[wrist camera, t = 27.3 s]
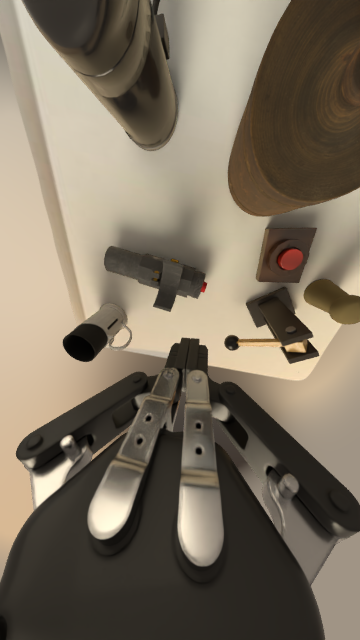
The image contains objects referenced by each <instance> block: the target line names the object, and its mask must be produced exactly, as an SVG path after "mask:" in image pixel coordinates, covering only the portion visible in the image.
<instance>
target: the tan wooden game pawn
mask: <svg viewBox="0 0 360 640" xmlns="http://www.w3.org/2000/svg"><path fill="white" fill-rule="evenodd" d="M304 299H305V301H306V302H307V303H309V304H311V305H313V306H315V307H317V308H319V309H321V310H323V311H325V312H328V313H329V314H330V316H331V318H332V319H333V320H335V321H336V322H338V323H341V324H355V323H358V322H360V297H359V296H355V295H349V294H347V293H346V292H345V291H343V290H342V289H341V288H340V287H338V286H337V285H336V284H334V283H333V282H332V281H330V280H327V279H320V280H317V281H315V282H313V283H311V284H310V285H309V286H308V287H307V288H306V290H305V292H304Z"/></svg>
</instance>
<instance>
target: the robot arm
mask: <svg viewBox="0 0 360 640" xmlns="http://www.w3.org/2000/svg"><path fill="white" fill-rule="evenodd" d="M22 2H23V4H24V6H25V8H26V10H27V11H28V13H29V15H30V17H31V18H32V20H33V22H34V23H35V25H36V26H37V28H38V29H39V31H40V32H41V34H42V35H43V36H44V37H45V39H46V40H47V41H48V42H49V44H50V45H51V46H52V47H53V48H54V49H55V51H56V52H57V53H58V54H59V55H60V56H61V57H62V58H63V60H64V61H65V62H66V63H67V64H68V65H69V67H70V68H71V69H72V70H73V71H74V72H75V73H76V75H77V76H78V77H79V78H80V79H81V80H82V82H83V83H84V84H85V85H86V86H87V87H88V88H89V89H90V91H91V92H92V93H93V94H94V95H95V96H96V97H97V99H98V100H99V101H100V102H101V103H102V104H103V105H104V107H105V108H106V109H107V110H108V111H109V112H110V114H111V115H112V116H113V117H114V118H115V119H116V120H117V122H118V123H119V124H120V125H121V126H122V127H123V129H124V130H125V132H126V133H127V134H129V135H128V136H129V137H131V138H130V139H131V140H132V141H134V142H135V143H136V144H137V145H138V146H139V147H141V148H142V149H145V150H149V151H154V150H158V149H160V148H162V147H163V146H164V145H165V144H166V143H167V142H168V141H169V140H170V138H171V136H172V135H173V132H174V130H175V127H176V123H177V116H178V104H177V98H176V93H175V90H174V87H173V84H172V81H171V77H170V73H169V69H168V65H167V61H166V60H167V59H169V37H168V32H167V28H166V23H165V19H164V14H159V15H157V10H158V6H159V2H160V0H153V5H152V4H151V0H22ZM207 368H208V349H207V347H206V346H205V345H199V339H193V338H191V340H190V338H181V342H180V343H175V344H174V345H173V346H172V347H171V350H170V353H169V356H168V359H167V362H166V365H165V368H164V369H162V370H161V372H160V373H159V374H158V375H156V376H150V377H147V375H146V374H145V373H143V372H135V373H133V374H131V375H129V376H127V377H125V378H124V379H122V380H120V381H119V382H117V383H115V384H114V385H112V386H110V387H108V388H107V389H105V390H103V391H102V392H100V393H98V394H96V395H95V396H93V397H92V398H90V399H88V400H86V401H85V402H83V403H81V404H80V405H78V406H76V407H74V408H73V409H71V410H69V411H68V412H66V413H64V414H62V415H61V416H59V417H57V418H56V419H54V420H52V421H51V422H49V423H47V424H45V425H44V426H42V427H40V428H39V429H37V430H35V431H33V432H32V433H30V434H29V435H28V436H27V437H25V438H24V439H23V441H22V442H21V443H20V445H19V446H18V448H17V451H16V457H17V458H18V459H19V460H20V461H21V462H22V463H23V464H24V467H25V468H26V469H27V470H28V471H29V472H30V481H31V489H32V499H33V508H34V512H33V513H32V514H31V515H30V517H29V518H28V519H27V521H26V522H25V524H24V525H23V527H22V528H21V530H20V532H19V533H18V535H17V537H16V539H15V541H14V543H13V546H12V548H11V551H10V553H9V556H8V559H7V563H6V566H5V570H4V573H3V576H2V579H1V582H0V640H325V635H324V629H323V624H322V620H321V616H320V612H319V608H318V605H317V602H316V599H315V597H314V594H313V591H312V588H311V584H312V583H313V581H314V579H315V578H316V576H317V574H318V573H319V571H320V569H321V568H322V566H323V564H324V563H325V561H326V559H327V558H328V556H329V554H330V553H331V551H332V549H333V548H334V546H335V545H336V544H338V543H340V542H341V541H343V540H345V539H347V538H348V537H350V536H352V535H354V534H356V533H357V532H359V531H360V505H359V503H358V501H357V500H356V498H355V497H354V496H353V495H352V493H351V492H350V491H349V490H347V488H346V487H345V486H344V485H342V484H341V483H340V482H339V481H338V480H337V479H336V478H335V477H334V476H333V475H332V474H331V473H330V472H329V471H328V470H327V469H326V468H325V467H323V466H322V465H321V464H320V463H319V462H318V461H317V460H316V459H315V458H314V457H313V456H312V455H311V454H310V453H309V452H308V451H307V450H305V449H304V448H303V447H302V446H301V445H300V444H299V443H298V442H297V441H296V440H295V439H294V438H293V437H292V436H290V434H289V433H288V432H286V431H285V430H284V429H283V428H282V427H281V426H280V425H279V424H278V423H277V422H276V421H275V420H274V419H273V418H272V417H270V416H269V415H268V414H267V413H266V412H265V411H264V410H263V409H262V408H261V407H260V406H259V405H258V404H257V403H256V402H255V401H254V400H253V399H252V398H251V397H249V396H248V395H247V394H246V393H245V392H244V391H243V390H242V389H241V388H240V387H239V386H238V385H236V384H235V383H232V382H223V383H221V384H218V383H216V382H214V381H212V380H211V379H210V378H209V376H208V373H207V371H208V369H207ZM185 387H186V402H185V414H184V415H185V417H184V431H183V432H173V426H174V422H175V418H176V414H177V410H178V406H179V403H180V397H181V392H185ZM212 416H213V417H215V419H216V421H217V422H218V424H219V425H220V427H221V428H222V429H223V431H224V432H225V433H226V435H227V436H228V438H229V439H230V440H231V441H232V443H233V444H234V446H235V447H236V448H237V449H238V451H239V452H240V453H241V455H242V456H243V458H244V459H245V460H246V461H247V463H248V464H249V466H250V467H251V468H252V470H253V471H254V472H255V473H256V475H257V476H258V478H259V479H260V480H261V482H262V483H263V487H262V496H263V500H264V503H265V505H266V507H267V508H268V510H269V512H270V514H271V516H272V519H273V522H274V524H273V523H272V521H271V520H270V518H269V516H268V515H267V513H266V512H265V510H264V509H263V507H262V506H261V504H260V503H259V501H258V499H257V498H256V496H255V495H254V493H253V492H252V490H251V489H250V487H249V486H248V484H247V482H246V481H245V480H244V478H243V476H242V475H241V473H240V472H239V471H238V469H237V467H236V466H235V464H234V462H233V461H232V460H231V458H230V457H229V455H228V454H227V453H226V451H225V450H224V449H223V448H222V447H221V446H220V445H218V444H217V443H216V442H215V441H214V431H213V420H212ZM130 425H131V427H130V429H129V431H128V432H127V433H125V434H123V435H122V436H120V437H119V438H118V439H117V440H116V441H114V442H113V443H112V444H111V445H110V446H109V447H107V448H106V449H105V450H104V451H103V452H101V453H100V454H99V455H98V456H97V457H95V458H94V459H93V460H92V461H91V459H92V456H93V454H95V453H96V452H97V451H98V450H99V449H101V448H102V447H103V446H105V445H106V444H107V443H108V442H110V441H111V440H112V439H114V438H115V437H116V436H117V435H119V434H120V433H121V432H122V431H124V430H125V429H126V428H128V427H129V426H130Z"/></svg>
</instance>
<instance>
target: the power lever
mask: <svg viewBox="0 0 360 640" xmlns="http://www.w3.org/2000/svg"><path fill="white" fill-rule="evenodd" d="M224 344H225V346H226V348H227V349H229V350H236V349H238V348H239V346H271V347H285V349H286V351H287V352H306V350H307V344H308V342H307V339H306V340H303V341H299V342H296V343H293V344H290V345H286V346H282V345H281V343H280V341H279V340H278V339H239V338H238V337H237V336H235V335H229V336H227V337H226V339H225V341H224Z"/></svg>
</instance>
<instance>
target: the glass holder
mask: <svg viewBox="0 0 360 640" xmlns="http://www.w3.org/2000/svg"><path fill="white" fill-rule="evenodd" d="M126 324H127V316H126V314H125V312H124V311H123V310H122V309H121V308H120V307H119V306H117V305H114V304H105V305H103V306H102V307H101V308H100V310H99V311H98V312H96V313H95V314H94V315H92V316H91V317H90V318H88V319H87V320H86V321H84V322H83V323H82V324H80V325H79V326H78V327H76V328H75V329H74V331H72V332H71V333H70V334H68V335H67V336H66V337H65V338H64V339H63V346H64V349H65V350H66V352H67V353H68V354H69V355H70V356H71V357H73V358H75V359H76V360H79V361H83V362H89V361H92V360H93V359H94V358H95V357H96V356H97V354H98V353H99V352H100V351H101V350H102V349H103V348H104V347H105V346H106V345H107V344H108V343H109V347H110V349H112V350H122V349H124V348H126V347H127V346H128V345H129V344H130V342H131V339H132V332H131V330H130V329H129V328H128V327H127V326H126ZM124 327H125V328H126V329H127V330H128V331H129V332H130V339H129V341H128V342H127V343H126V344H125V345H124V346H122V347H112V346H111V344H112V342H113V341H114V336H115V335H116V334H117V333H118V332H119V331H120V330H121V329H123V328H124Z"/></svg>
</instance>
